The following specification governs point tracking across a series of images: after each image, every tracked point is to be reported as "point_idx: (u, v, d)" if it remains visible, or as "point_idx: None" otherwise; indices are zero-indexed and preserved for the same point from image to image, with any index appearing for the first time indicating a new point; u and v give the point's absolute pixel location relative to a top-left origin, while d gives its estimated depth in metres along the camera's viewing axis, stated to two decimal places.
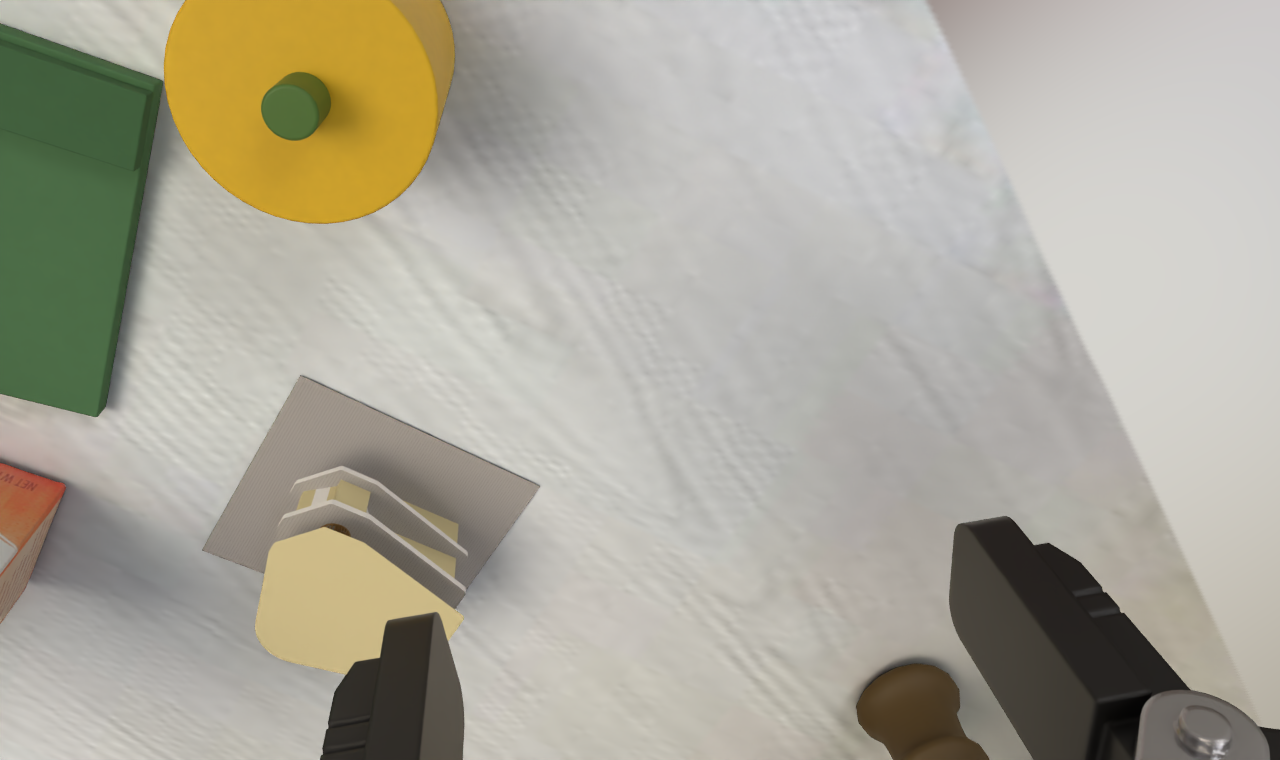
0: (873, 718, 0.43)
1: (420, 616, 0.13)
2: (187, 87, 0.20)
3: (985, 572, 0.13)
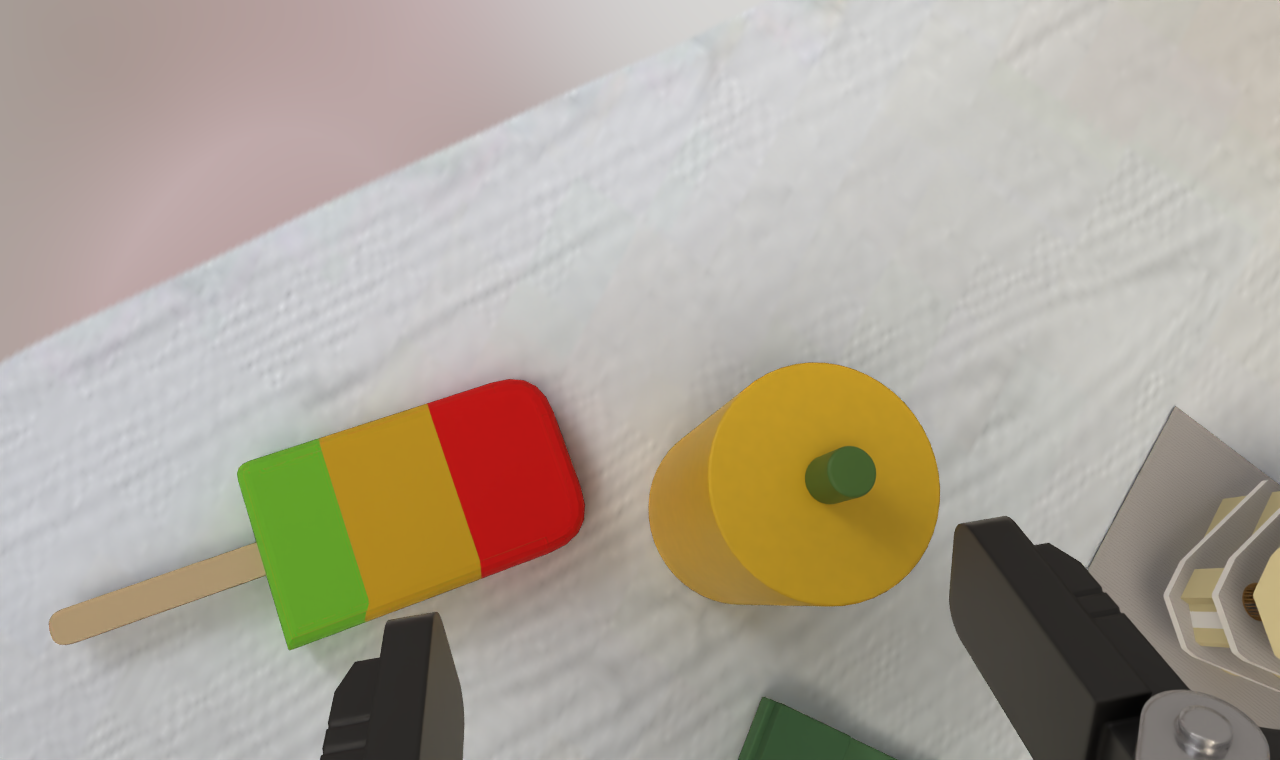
0: None
1: (420, 616, 0.13)
2: (816, 583, 0.21)
3: (985, 572, 0.13)
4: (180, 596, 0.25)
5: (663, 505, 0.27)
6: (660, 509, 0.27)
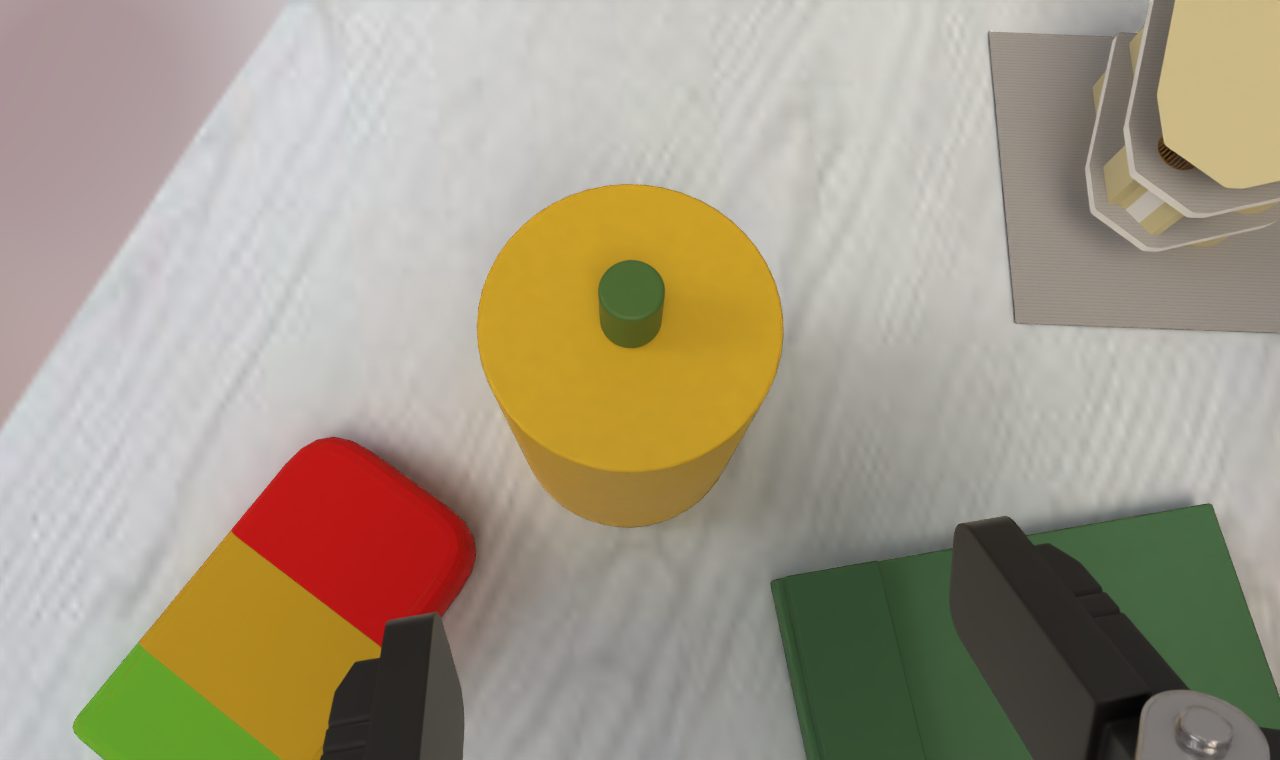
0: None
1: (420, 616, 0.13)
2: (687, 433, 0.17)
3: (985, 572, 0.13)
4: None
5: (531, 465, 0.22)
6: (534, 471, 0.23)
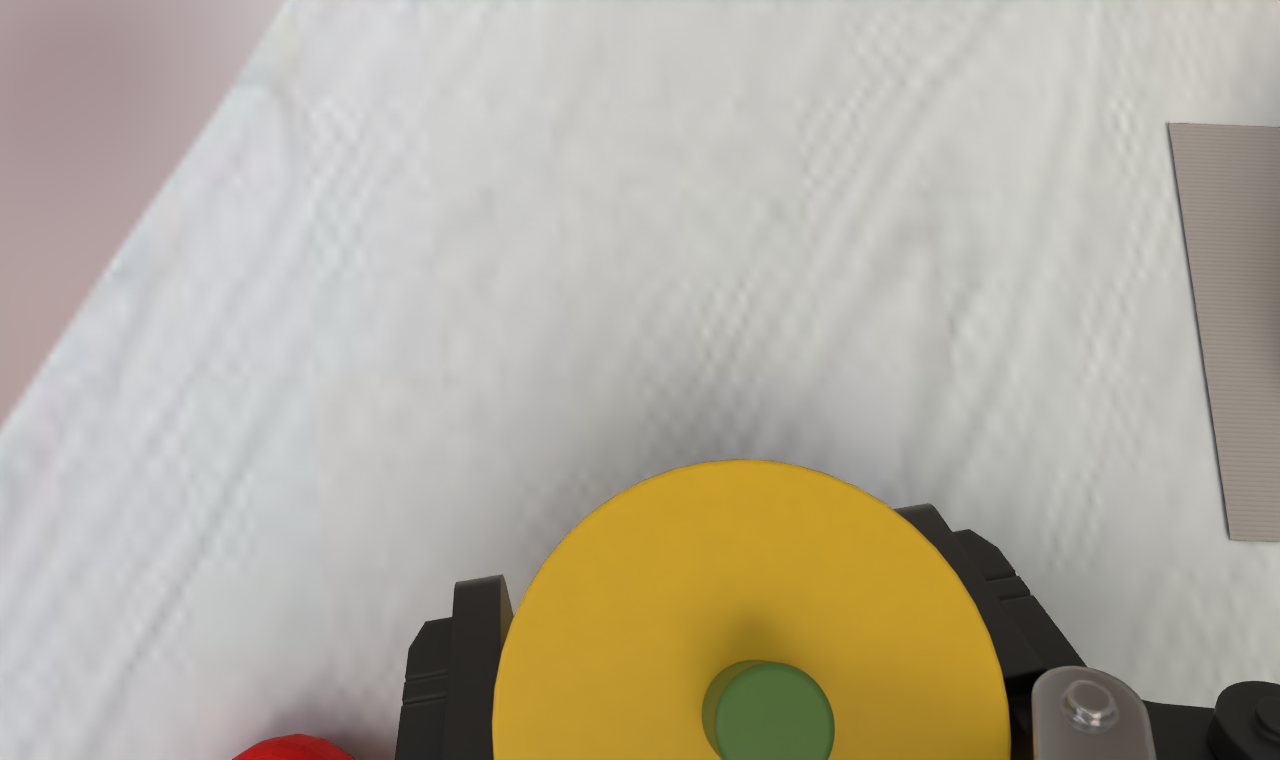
0: None
1: (487, 578, 0.13)
2: None
3: None
4: None
5: None
6: None
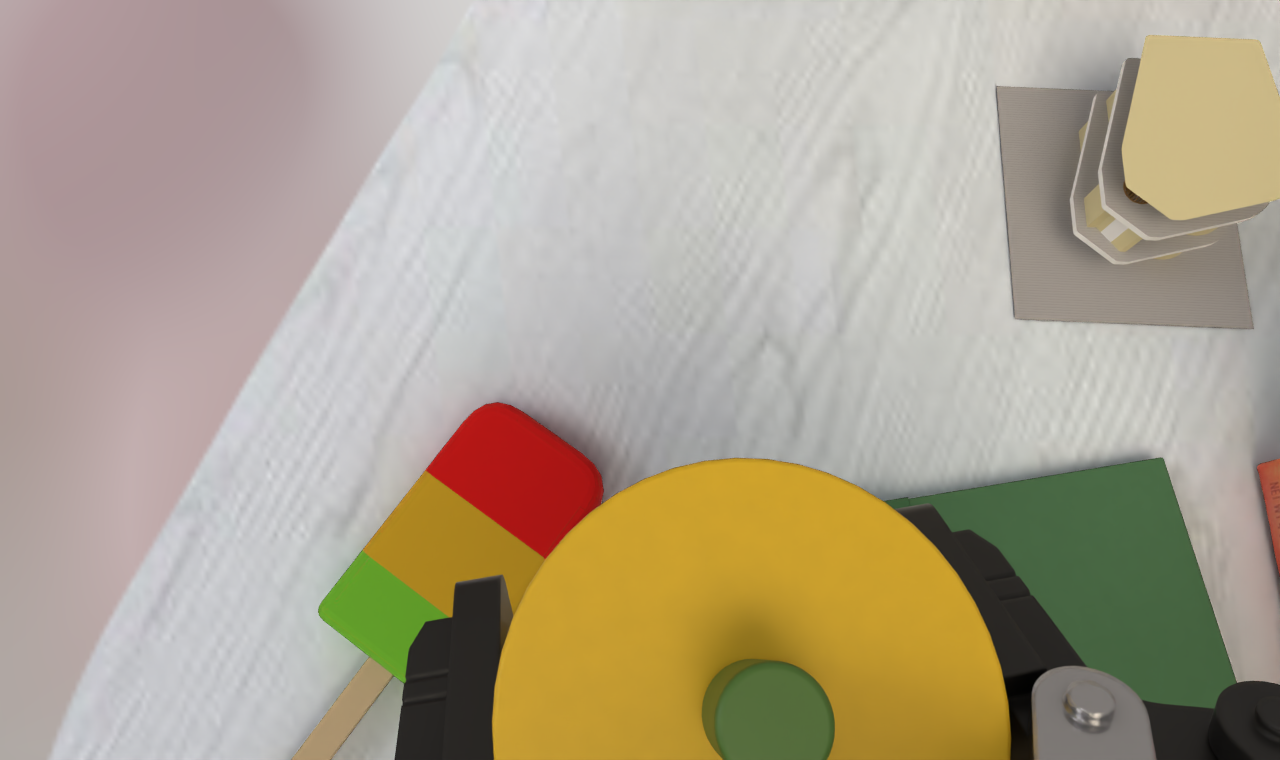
0: None
1: (487, 578, 0.13)
2: None
3: None
4: (340, 733, 0.29)
5: None
6: None
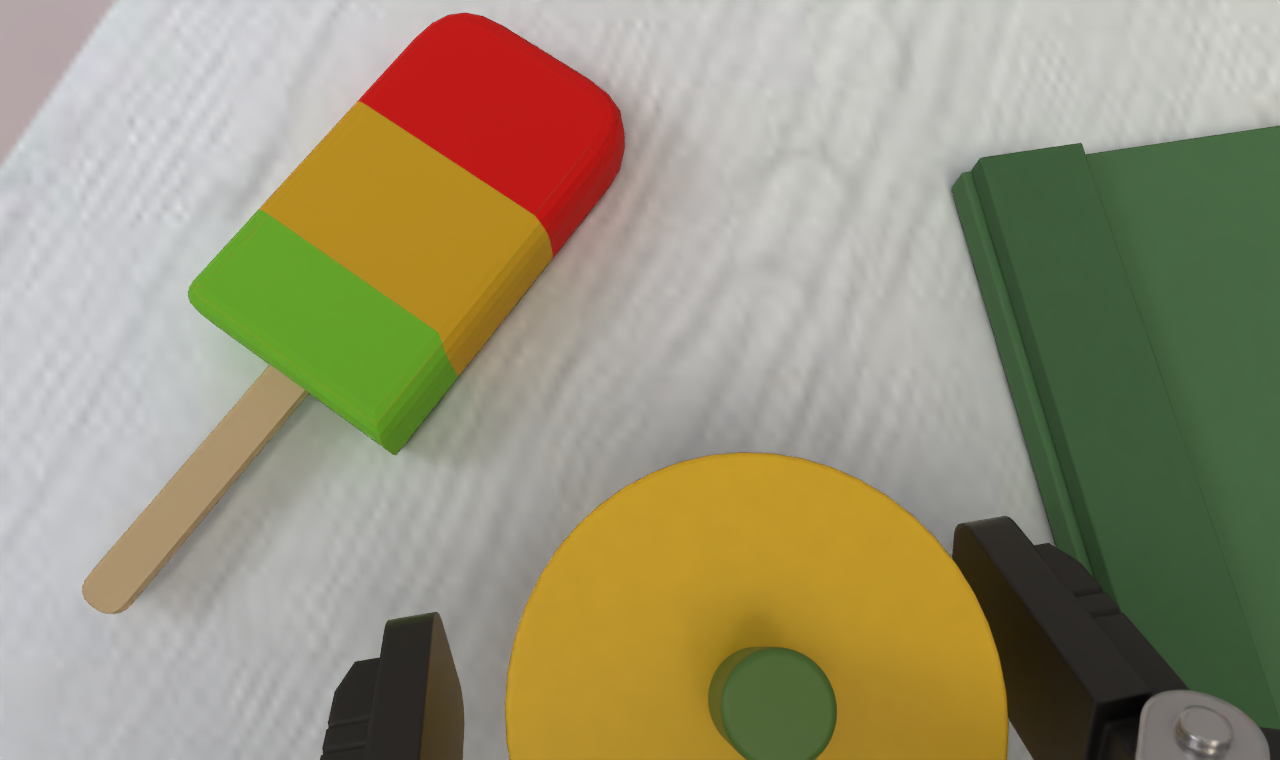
0: None
1: (420, 616, 0.13)
2: None
3: (985, 572, 0.13)
4: (219, 475, 0.18)
5: None
6: None
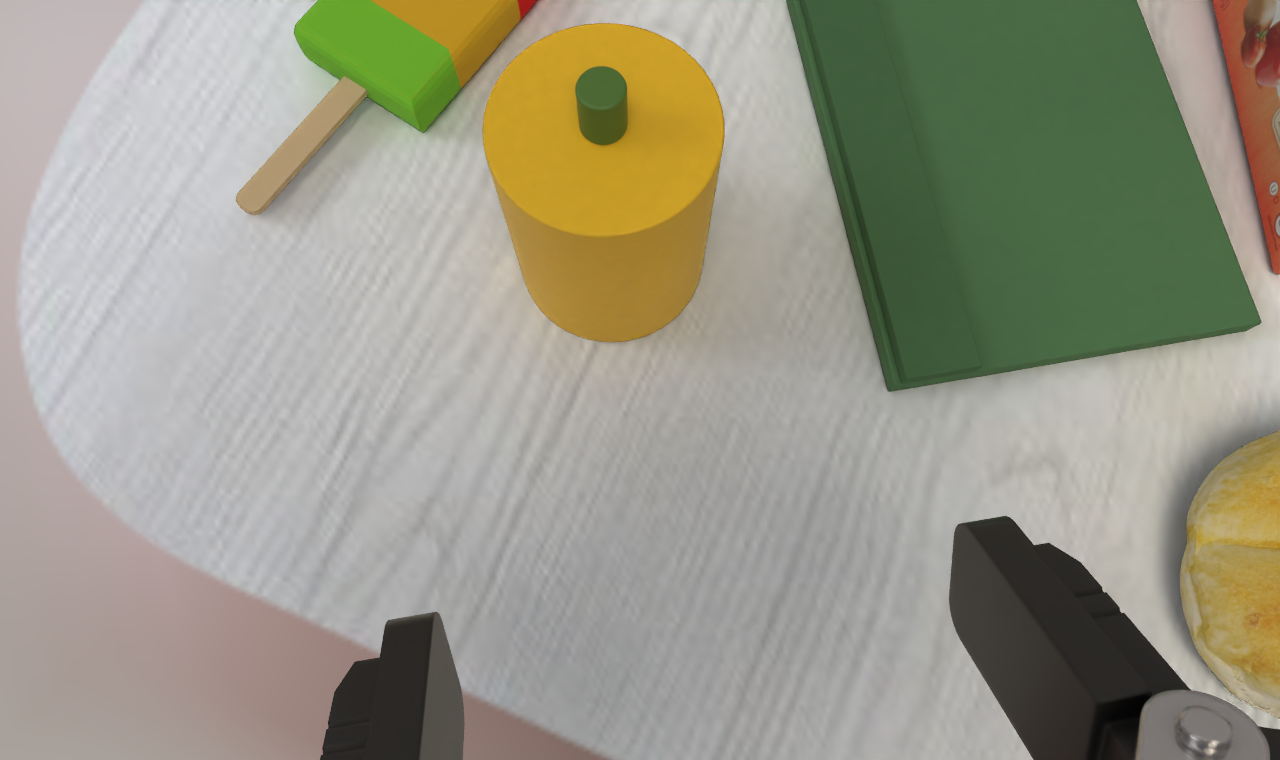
0: None
1: (420, 616, 0.13)
2: (646, 208, 0.22)
3: (985, 572, 0.13)
4: (315, 137, 0.30)
5: (529, 277, 0.27)
6: (532, 285, 0.27)
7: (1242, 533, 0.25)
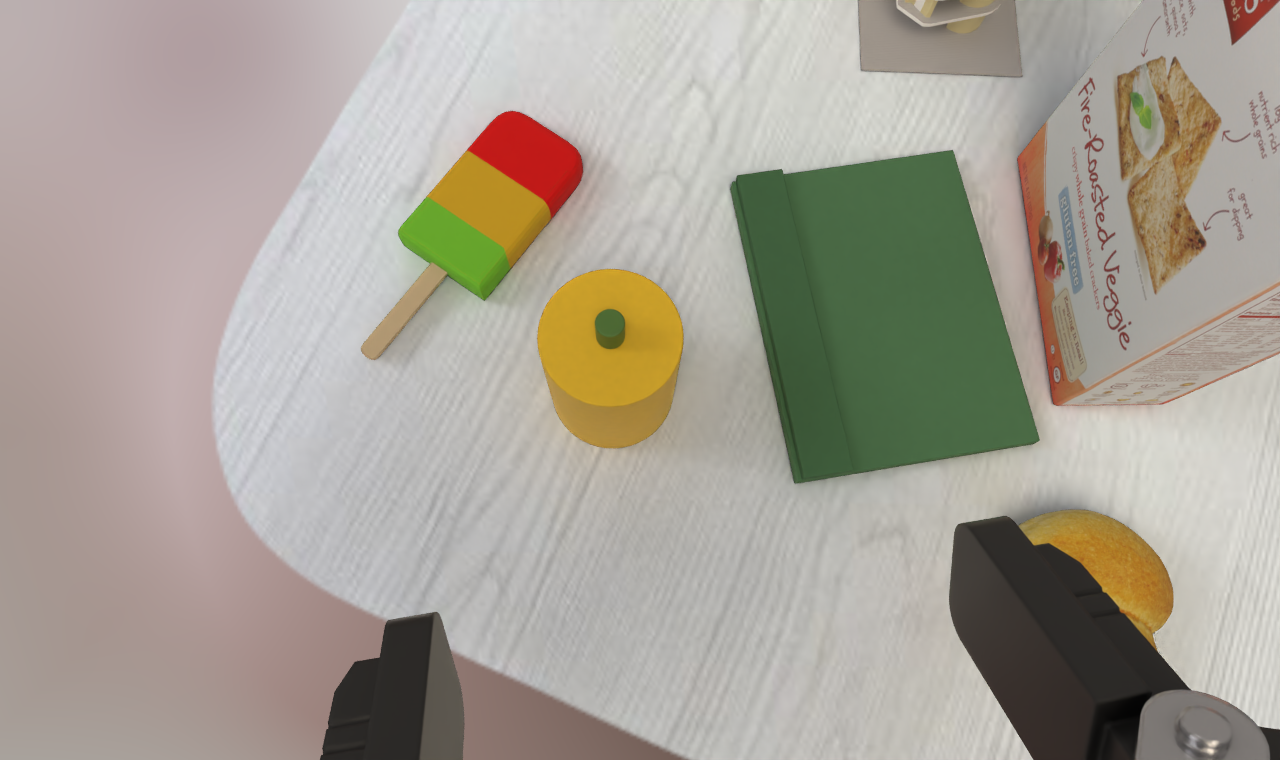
0: None
1: (420, 616, 0.13)
2: (636, 389, 0.36)
3: (985, 572, 0.13)
4: (413, 306, 0.45)
5: (559, 410, 0.42)
6: (561, 414, 0.42)
7: None
